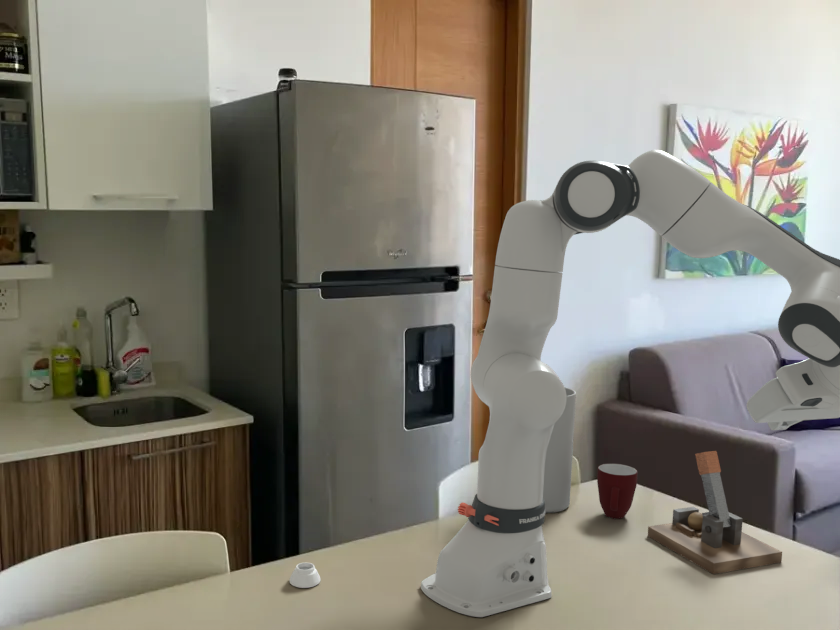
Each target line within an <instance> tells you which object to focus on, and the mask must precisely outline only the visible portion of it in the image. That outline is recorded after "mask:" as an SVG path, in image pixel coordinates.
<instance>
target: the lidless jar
mask: <svg viewBox="0 0 840 630" xmlns="http://www.w3.org/2000/svg"><path fill="white" fill-rule="evenodd" d="M320 583H321V576H320V574H319V572H318V569H316V567H315V564H314V563H311V562H305V561H304V562H299V563H298V564H296V566H295V567H294V570H293V571H292V573H291V575H290V577H289V584H291V585H292V586H293V587H296V588H301V589H308V588H313V587H315V586H317V585H318V584H320Z"/></svg>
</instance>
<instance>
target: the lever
mask: <svg viewBox="0 0 840 630" xmlns="http://www.w3.org/2000/svg"><path fill="white" fill-rule="evenodd" d="M694 455H695V459H696V464H697V465H696V466H697V470H698V473H699V475H700V476H701V480H702V481H701V482H702V485H703V491H704V495H705V501H706V503H707V508H708V511H707V512H701V514H702V515H712V516H714V517H716V518H718V519H720V520H722V521H724V522H723V527H730V526H731V522H730V517H729V513H728V512H729V508H728V504H727V499H726V495H725V491H724V486H723V481H722V476H721V472H722V469H721V466H720V460H719V456H718V452H717V450H712V451H711V450H710V451H703V452H697V453H695V454H694Z"/></svg>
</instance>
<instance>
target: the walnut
mask: <svg viewBox="0 0 840 630" xmlns="http://www.w3.org/2000/svg"><path fill="white" fill-rule="evenodd" d="M702 521H703V515H702V512H694V513H692V514H690V516H689V517H688V524H689V526H690V527H691V528H692V529H693V530H696V531H700V530H702Z"/></svg>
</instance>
